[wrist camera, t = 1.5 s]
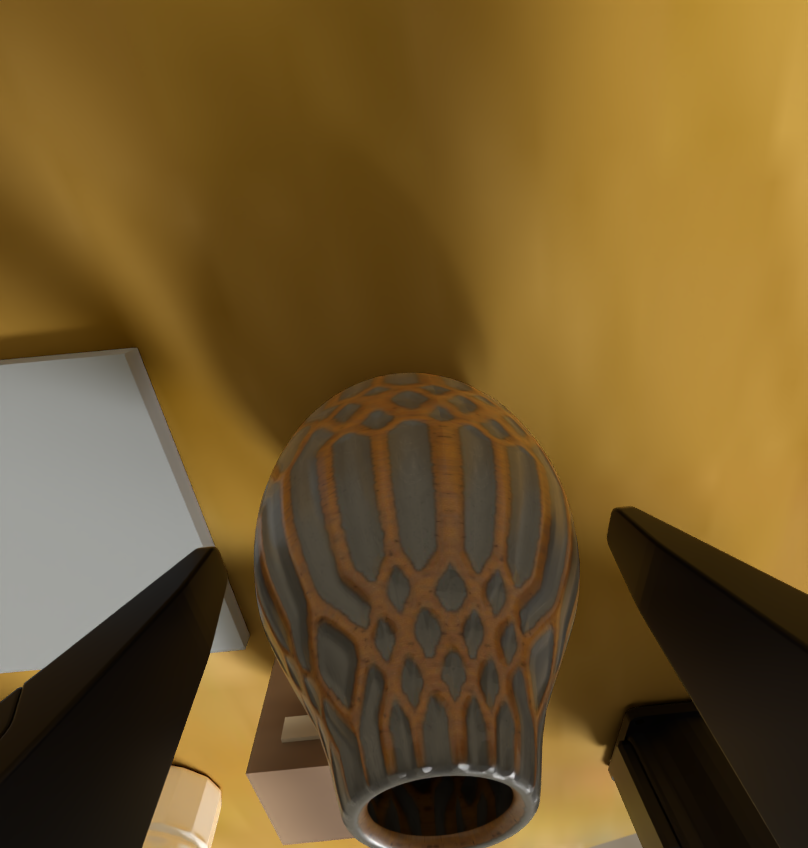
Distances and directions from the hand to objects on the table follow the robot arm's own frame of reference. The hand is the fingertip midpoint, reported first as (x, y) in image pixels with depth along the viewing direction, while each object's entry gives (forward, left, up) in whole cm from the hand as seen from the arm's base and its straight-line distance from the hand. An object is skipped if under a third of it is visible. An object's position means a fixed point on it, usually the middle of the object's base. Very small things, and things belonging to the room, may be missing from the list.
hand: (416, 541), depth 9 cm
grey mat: (+13, +2, -4) cm, 14 cm away
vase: (0, 0, -4) cm, 4 cm away
